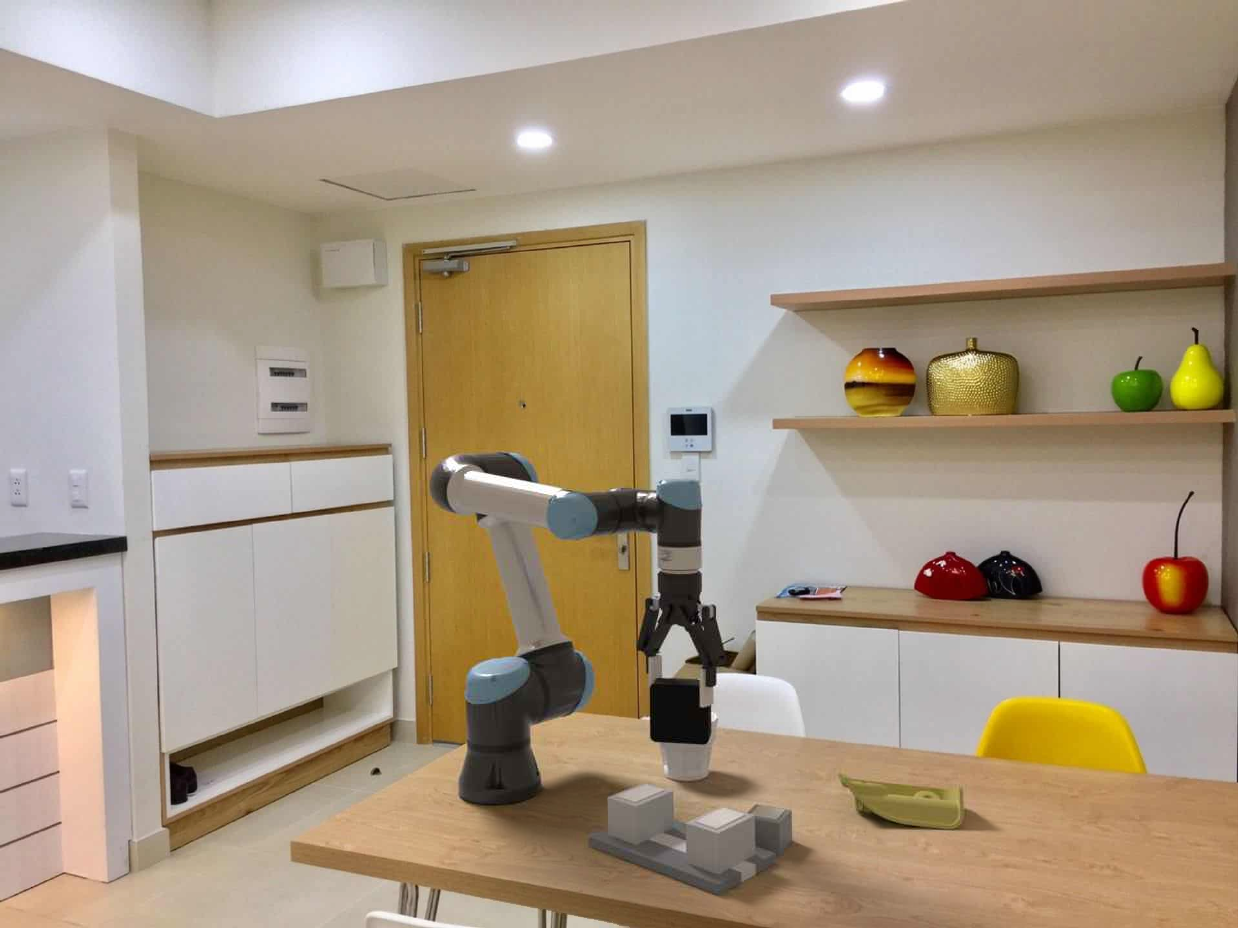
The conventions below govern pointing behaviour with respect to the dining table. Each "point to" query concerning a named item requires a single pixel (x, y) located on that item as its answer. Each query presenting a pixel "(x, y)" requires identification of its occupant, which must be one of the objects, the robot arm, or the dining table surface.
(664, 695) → the electronic device
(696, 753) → the cup
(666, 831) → the board
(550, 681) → the robot arm
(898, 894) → the dining table surface
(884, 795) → the plastic component
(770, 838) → the module
